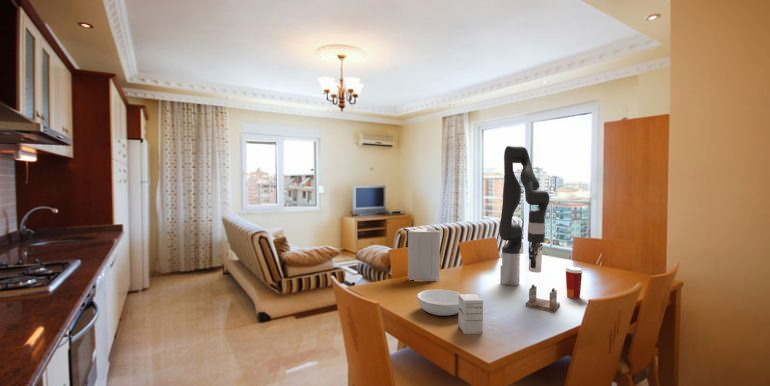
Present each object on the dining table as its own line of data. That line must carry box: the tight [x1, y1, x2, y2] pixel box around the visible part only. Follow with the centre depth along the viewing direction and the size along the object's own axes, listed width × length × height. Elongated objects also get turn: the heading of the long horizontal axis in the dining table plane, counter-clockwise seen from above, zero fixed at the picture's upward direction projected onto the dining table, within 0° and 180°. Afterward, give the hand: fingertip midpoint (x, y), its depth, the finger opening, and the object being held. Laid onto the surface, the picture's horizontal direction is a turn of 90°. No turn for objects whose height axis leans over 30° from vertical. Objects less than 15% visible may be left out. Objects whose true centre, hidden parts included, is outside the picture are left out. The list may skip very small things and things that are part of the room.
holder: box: [525, 284, 561, 313], centre depth 164 cm, size 12×10×9 cm
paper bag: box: [407, 227, 441, 282], centre depth 210 cm, size 19×15×28 cm
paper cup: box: [564, 266, 584, 300], centre depth 177 cm, size 8×8×14 cm
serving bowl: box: [417, 288, 463, 317], centre depth 156 cm, size 21×21×7 cm
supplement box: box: [457, 293, 484, 335], centre depth 137 cm, size 7×7×13 cm
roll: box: [528, 250, 543, 274], centre depth 175 cm, size 6×6×10 cm
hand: (535, 266), depth 175 cm, fingers closed on roll, 5 cm apart
